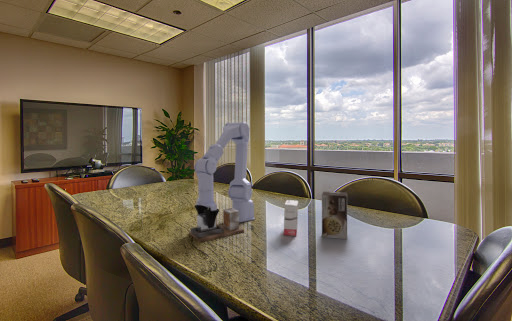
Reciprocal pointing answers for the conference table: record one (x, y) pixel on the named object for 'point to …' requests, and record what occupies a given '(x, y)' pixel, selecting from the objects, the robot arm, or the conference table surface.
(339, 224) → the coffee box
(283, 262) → the conference table surface
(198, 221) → the grey rectangular block
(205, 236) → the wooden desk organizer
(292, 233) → the ink box
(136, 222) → the conference table surface
